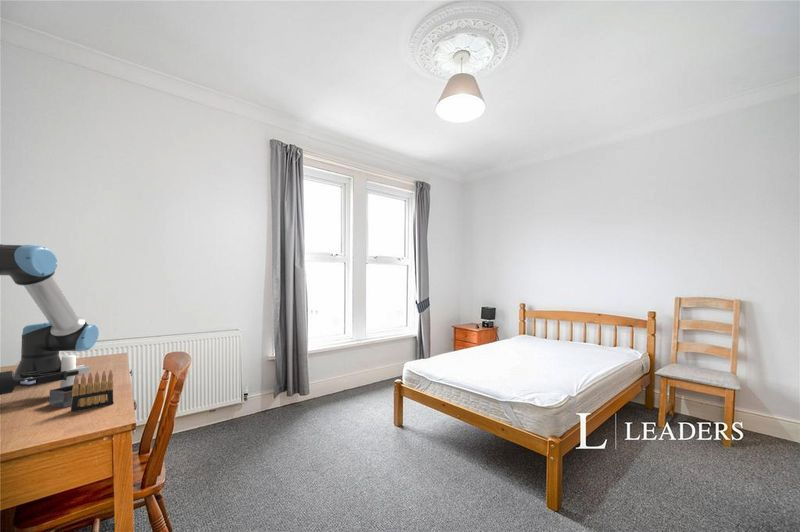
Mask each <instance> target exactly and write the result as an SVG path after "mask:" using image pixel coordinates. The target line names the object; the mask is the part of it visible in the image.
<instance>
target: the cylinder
mask: <svg viewBox="0 0 800 532" xmlns="http://www.w3.org/2000/svg"><path fill="white" fill-rule="evenodd" d="M76 366H77V355H76V354H71V355H63V356H61V372H63V371H66V370H71V369H76ZM74 378H75V376H74V377H68V378H67V380H59V382H60V384H59V388H61V387H66V386H70V385H73V384H74Z"/></svg>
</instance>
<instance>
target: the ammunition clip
mask: <svg viewBox="0 0 800 532" xmlns="http://www.w3.org/2000/svg"><path fill="white" fill-rule="evenodd" d="M106 372H107V371H106V370H103V372H102V374H101V380H100V373H99V371H96V372H95V376H94V378H93V374H92V372H89V374H88V378H87V377H86V375H85V374H83V375H81V376H80V381H79V376H78V375H77V374H76V376H75V378H74V384H73V389H72V405H71V406H70V413H75V412H79V411H80V412H81V411H85V410H90V409H96V408H101V407H106V406H111V405H114V374H113V370H112V369H110V370H109V372H108V378H107V373H106ZM86 378H87V380H86ZM93 379H94V380H93ZM93 381H94V382H93ZM79 384H80V391H79ZM86 385H87V391H86Z"/></svg>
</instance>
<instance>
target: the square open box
mask: <svg viewBox="0 0 800 532" xmlns="http://www.w3.org/2000/svg"><path fill="white" fill-rule="evenodd" d="M80 384H81V383H79V391H80ZM72 389H73V385H70V386H66V387H61V388H60V387H57V388H55V389H54V388H53V389H50V390H49V397H48V398H49V402H48V405H49V406H52V407H57V408H61V409H65V408H69V407H71V405H72ZM86 391H87V384H86Z"/></svg>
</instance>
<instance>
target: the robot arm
mask: <svg viewBox="0 0 800 532" xmlns="http://www.w3.org/2000/svg"><path fill="white" fill-rule="evenodd" d="M57 262H58V259H57V256H56V255H55V253H54V252H53V251H52V250H51V249H49V248H47V247H46V246H42V245H35V244H24V245H22V244H21V245H20V244H3V243H2V244H0V276H9V277H10V278H11V279H12V281H13V282H14V284H15V285H18V286H23V287H24V289H25V290H26V291H27V293H28V294H29V295H30V296H31V299H32V300H33V301H34V303H35V304H36V306H37V307H38V308H39V310H40V311H41V313H42V314H43V316H44V317H45V319H46V320H47V321H48V322H43V323H42V322H41V323H35V324H29V325H27V324H26V325H25V326H24V327H23V328H22V334H21V351H20V354H21V357H20V361H19V362H18V365H17V367H16V369H15V371H14V372H13V370H8V371H6V370H5V371H0V396H1V395H7V394H11V393H13V392H14V390H15V389H14V388H15V387H19V386H20V387H28V388H29V387H32V386H38V385H42V384H47V383H53V382H58V381H59V382H60V381H61V380H67V378H68V377H74V376H76V374H77V375H78V377H81V376H82V375H83V374H85V376H86V375H89V374H90V369H91V368H90V366H86V364H82V365H76V369H71V370H66V371H63V372H61V361H62V359H61V357H60V352H83V351H88V350H90V349H92V348H93V347H94V346H95V345H96V343H97V341H98V339H99V334H100V333H99V332H100V331H99V327H98V326H97V325H95V324H93V323H92V324H88V323H87V321H86V319H85V318H83V317H82V316H78V315H77V313H76V312H75V310H74V308H73V307H72V305H71V304H70V302H69V301H68V299H67V298H66V295H65V294H64V293H63V291H62V290H61V288H60V286H59V285H58V283H57V281H56V280H55V278H54V275H56V270H57V268H58V264H57Z"/></svg>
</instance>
